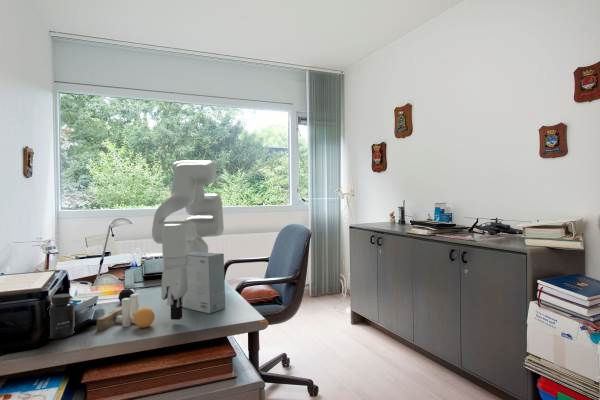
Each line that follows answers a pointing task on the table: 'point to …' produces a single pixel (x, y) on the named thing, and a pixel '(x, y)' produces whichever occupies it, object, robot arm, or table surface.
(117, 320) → the front pin
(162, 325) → the table surface
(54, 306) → the supplement bottle
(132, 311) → the back right pin
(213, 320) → the table surface
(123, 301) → the back left pin
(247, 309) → the table surface
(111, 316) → the backstop wall
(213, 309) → the hard drive box
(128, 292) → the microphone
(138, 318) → the ball
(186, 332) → the table surface
